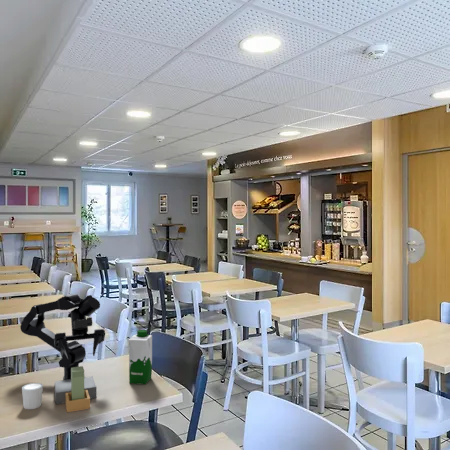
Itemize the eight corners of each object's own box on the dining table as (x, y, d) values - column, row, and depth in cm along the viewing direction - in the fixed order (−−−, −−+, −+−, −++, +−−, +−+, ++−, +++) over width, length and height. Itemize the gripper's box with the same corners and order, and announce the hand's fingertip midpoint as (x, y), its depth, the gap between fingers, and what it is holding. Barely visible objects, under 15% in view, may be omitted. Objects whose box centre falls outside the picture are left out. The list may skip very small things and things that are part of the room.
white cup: (46, 401, 155) (46, 382, 155) (38, 409, 148) (38, 389, 148) (26, 401, 154) (26, 382, 154) (18, 410, 147) (18, 390, 147)
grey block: (54, 391, 163) (54, 381, 163) (92, 386, 169) (92, 376, 169) (56, 414, 145) (56, 402, 145) (99, 406, 150) (99, 395, 150)
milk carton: (154, 377, 179) (154, 329, 179) (147, 385, 170) (147, 335, 170) (133, 376, 180) (134, 329, 180) (126, 384, 171) (126, 334, 171)
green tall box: (71, 403, 153) (71, 367, 153) (82, 401, 154) (82, 366, 154) (72, 409, 148) (72, 372, 148) (84, 407, 150) (84, 370, 150)
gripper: (54, 312, 164) (55, 349, 154) (104, 308, 171) (108, 343, 161) (53, 328, 171) (54, 364, 161) (101, 324, 178) (105, 358, 168)
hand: (81, 357), depth 163 cm, fingers open, 9 cm apart
